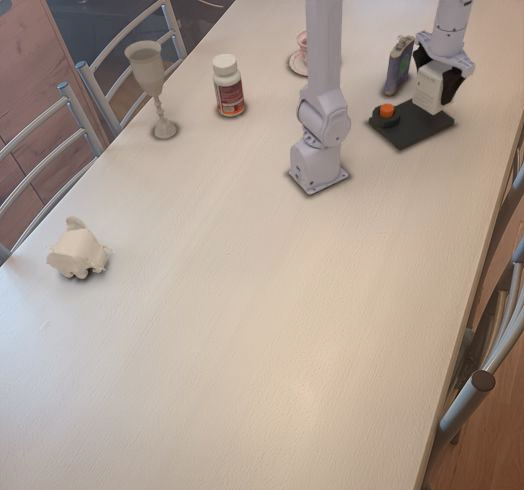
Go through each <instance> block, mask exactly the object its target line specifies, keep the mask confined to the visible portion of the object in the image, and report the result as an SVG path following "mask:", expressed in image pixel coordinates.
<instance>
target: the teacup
mask: <svg viewBox="0 0 524 490" xmlns="http://www.w3.org/2000/svg"><path fill="white" fill-rule="evenodd" d="M295 38H296V42H297V45H298V46H299V48H300V50H297V51H295V52H294V53H293V54H292V55H291V57H290V58H289V67H290V69H291V70H292V71H293V72H295V74H298V75H301V76H305V77H308V74H307V39H306V27H305V28H303V29H301V30H299V31H298V32H297V34H296V37H295Z"/></svg>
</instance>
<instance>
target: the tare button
mask: <svg viewBox="0 0 524 490" xmlns="http://www.w3.org/2000/svg"><path fill="white" fill-rule="evenodd" d="M381 105H382V106H381V108H380V116H381V117H384V118H390V117H392V116H393V112H394V106H395V105H393V104H392V103H383V104H381Z"/></svg>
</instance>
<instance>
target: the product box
mask: <svg viewBox="0 0 524 490" xmlns="http://www.w3.org/2000/svg"><path fill="white" fill-rule="evenodd" d="M450 69H452V66H451V65H448V64H445V63H443V62H440V61H437V60H432V61H431V62H429V63H427V64H425V65H424V66H422V67H420V68H419V70H418V75H417V74H416V75H417V76H416V80H415V85H414V90H413V95H412V98H413V100H412V102H413V103H414V104H416V105H418V106H419V107H421V108H423V109H424V110H426V111H427V112H429V113H430V114H432V115H435V114H436V113H438V112H439V111H441V110H444V109H445V108H447V107H449V106H451V105H452V104H453V103H454V102H455V97H456V95H457V92H456V93H455V95H454V97H453V99H452V101H451V102H450V103H448V104H446V105H444V106H443V105H441V96H442V91H443V77H442V73H443V72H446V71H448V70H450Z"/></svg>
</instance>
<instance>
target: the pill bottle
mask: <svg viewBox="0 0 524 490" xmlns="http://www.w3.org/2000/svg"><path fill="white" fill-rule="evenodd" d="M212 70H213V74H212V82H213V88H214V93H215V99H216V104H217V109H218V112H219V114H220V115H222V116H224V117H228V118H229V117H230V118H231V117H236V116H239V115H241V114H242V113H244V111H245V97H244V88H243V81H242V74H241V71H240V69H239V68H238V61H237V57H236V55H234V54H231V53H222V54H218V55H216V56H214V58H213V59H212Z"/></svg>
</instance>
